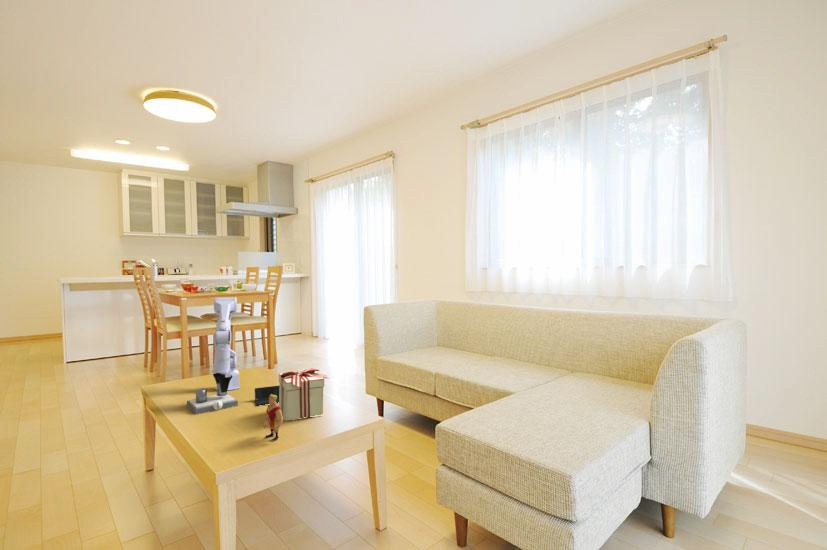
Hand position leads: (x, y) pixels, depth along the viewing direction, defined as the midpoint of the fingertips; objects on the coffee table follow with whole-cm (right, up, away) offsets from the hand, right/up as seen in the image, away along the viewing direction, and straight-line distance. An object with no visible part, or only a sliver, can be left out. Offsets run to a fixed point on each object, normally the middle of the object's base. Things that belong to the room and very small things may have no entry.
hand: (222, 390), depth 172 cm
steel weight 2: (0, -2, 0) cm, 2 cm away
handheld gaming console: (+19, -6, +3) cm, 20 cm away
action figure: (+34, -6, -36) cm, 49 cm away
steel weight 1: (-6, -3, -5) cm, 9 cm away
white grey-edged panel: (-3, -5, -3) cm, 7 cm away
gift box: (+38, -6, -12) cm, 40 cm away
